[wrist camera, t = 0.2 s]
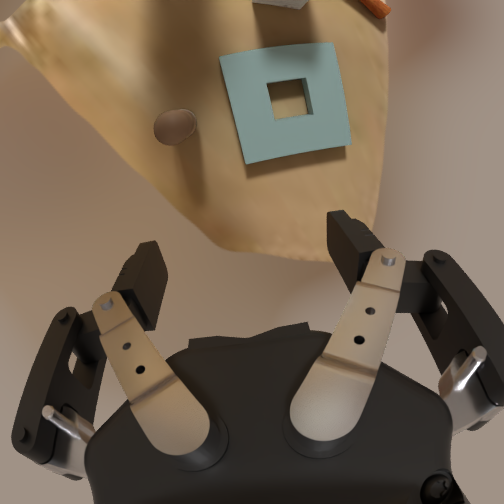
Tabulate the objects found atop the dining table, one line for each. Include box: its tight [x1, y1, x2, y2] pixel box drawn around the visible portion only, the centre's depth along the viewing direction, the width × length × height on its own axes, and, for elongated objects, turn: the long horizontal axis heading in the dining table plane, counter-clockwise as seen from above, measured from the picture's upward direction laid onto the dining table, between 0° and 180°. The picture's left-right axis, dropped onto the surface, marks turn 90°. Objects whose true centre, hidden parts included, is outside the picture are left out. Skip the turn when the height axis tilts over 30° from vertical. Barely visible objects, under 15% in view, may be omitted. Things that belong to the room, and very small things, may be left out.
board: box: [219, 43, 352, 164], centre depth 33 cm, size 16×16×2 cm
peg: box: [154, 109, 197, 145], centre depth 30 cm, size 4×4×10 cm
